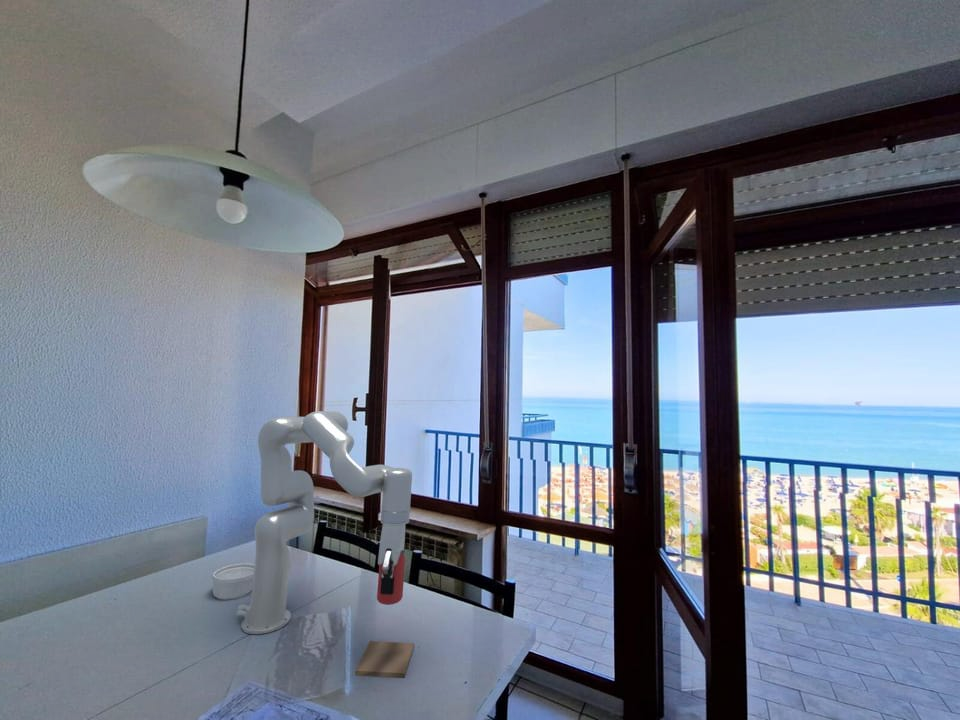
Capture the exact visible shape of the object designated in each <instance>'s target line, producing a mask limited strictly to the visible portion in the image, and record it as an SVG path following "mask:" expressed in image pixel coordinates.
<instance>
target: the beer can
mask: <svg viewBox="0 0 960 720" xmlns="http://www.w3.org/2000/svg"><path fill="white" fill-rule="evenodd" d="M404 551H405V550H404ZM404 551H403V550H402V553H400V557H399V560H398V563H397V565H395V568H394V575H393V577H395V578H394V592H393V594H392V595H388V594H381V593H380V592H381V578H382V571H383V569H382V568H383V564H384V562H383V563H382V564H381V565H379V564H378V567H379V568H378V577H377V589H376V590H377V592H376V601H378V603H379V604H381V605H386V606H387V605H388V606H390V605H395V604H397V603H399V602H400V601H402V598H403V595H404V581H405V566H406V565H405V563H406V558H405V554H404ZM389 564H393V561H390V563H389ZM389 569H390V570H391V569H392V567H389Z"/></svg>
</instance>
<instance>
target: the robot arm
mask: <svg viewBox="0 0 960 720" xmlns="http://www.w3.org/2000/svg"><path fill="white" fill-rule="evenodd" d="M348 428H349V423H348V419H347V417H346V416H345V415H344V414H343V413H341V412H339V411H334V410H333V411H330V410H329V411H328V410H317V411H312V412H310V413H308V414H307V415H305V416H278V417H274V418H272V419H269V420H267V421H266V422H265V423H264V424H263V425H262V426H261V427H260V430H259V432H258V436H257V445H258V446H257V447H258V451H259V457H260V499H261V501H262V503H263V504H264V505H265V506H268V507H275V506H280V505H284V504H288V507H283V508H280V509H276V510H275V509H274V510H272V511H269V512H267V513H265V514H264V515H262V516H261V517H260V518H259V519H258V520H257V522H256V524H255V526H254V540H255V557H254V559H255V560H254V565H255V567H254V576H253V585H252V590H251V594H250V595H251V596H250V603H249V604H248V605H247V604H240V605H238V607H237V611H236V616H238V617H244V619H243V620H242V622H241V630H242V631H243V632H244V633H247V634H251V635H262V634H263V635H264V634H268V633H272V632H275V631H277V630H279V629H282V628H283V627H285V626H286V625H287V624H288V623H289V622H290V620H291V616H292V615H291V611H289V610H288V609H287V600H288V599H287V598H288V588H289V581H290V571H291V570H290V569H291V558H292V557H291V555H292V554H291V552H290V549H289V547H288V543H287V541H290V540H292V539H294V538H297V537H300V536H303V535H305V534H306V533H308V532H309V531H310V530H311V529H312V526H313V525H314V520H315V499H314V498H315V496H314V495H315V494H314V493H315V492H314V491H315V490H314V483H313V482H314V481H313V480H312V477H311V475H310V474H309V473H308V472H307V471H304V470H302V469H301V470H293V469H292V468H293V467H292V456H291V454H290V452H289V450H288V449H287V447H286V445H290V444H291V445H292V444H304V443H305V444H308V443H313V444H314V445H315V446H316V447H318V448H319V449H320V451H321V452H322V453H323V454H325V456H326V457H328V459H329V468H330V472H331V475H332V478H334V480H335V481H336V482H337V484H338V485H339V486H340V487H341V488H342V489H343V490H344V491H346V492H347V493H348V494H349V495H351V496H353V497H355V498H364V497H368V496H371V495H374V494H379V493H382V497H381V498H382V500H381V509H380V511H381V512H380V523H381V525H382V528H381V534H380V541H379V547H378V548H379V549H378V550H379V551H378V556H377V557H378V558H377V565H378V566H379V565H381V564H382V563H383V562H384V564H383V568H382V569H383V571H382V578H381V592H380V593H381V594H388V595H392V594H393V592H394V578H395V577H393V575H394V568H395V565H397V563H398V560H399V557H400V553H402V550H403V551H405V542H406V525H407V524H409V523H410V517H411V513H410V512H411V500H412V499H411V498H412V483H413V473H412V471H411V470H410V469H409V468H407V467H406V468H405V467H393V466H390V465H387V464H374V465H368V466H364V467H361V466H360V465H359V464H358V463H357V462H356V461H354V459H353V458H352V457H351V456H350V455H349V454H350V453H351V451H352V450H353V448H354V445H355V439H354V437H353V435H351V434H350V433H349V432H347V431H348ZM390 561H393V564H389V563H390ZM389 567H392V569H391V570H390V569H389Z"/></svg>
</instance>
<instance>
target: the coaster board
mask: <svg viewBox="0 0 960 720" xmlns="http://www.w3.org/2000/svg"><path fill="white" fill-rule="evenodd" d="M414 646H415V643H413V642H398V641H397V642H395V641H381V640H380V641H375V640H370V641H369V643H368V645H367V647H366V648H365V650H364V652H363V655H362V656H361V658H360V661H359V663H358V664H357V667H356V668H355V670H354V676H361V677H362V676H363V677H364V676H365V677H382V678H401V679H405V677H406V674H407V671H408V667H409V665H410V661H411V658H412V654H413V651H414V648H415V647H414Z"/></svg>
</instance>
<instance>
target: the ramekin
mask: <svg viewBox="0 0 960 720" xmlns="http://www.w3.org/2000/svg"><path fill="white" fill-rule="evenodd" d="M254 567H255V563H254V564H253V563H247V562H245V563H236V564H230V565H226V566H222V567H221V568H219V569H217V570H215V571H214V572H213V573H212V592H213V593H212V595H213V596H214V597H215V598H216V599H218V600H224V601H227V600H230V601H231V600H233V599H234V600H235V599H239V598H241V597H245V596H246V595H248V594H249V593H251V592H252V585H253V576H254Z"/></svg>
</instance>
